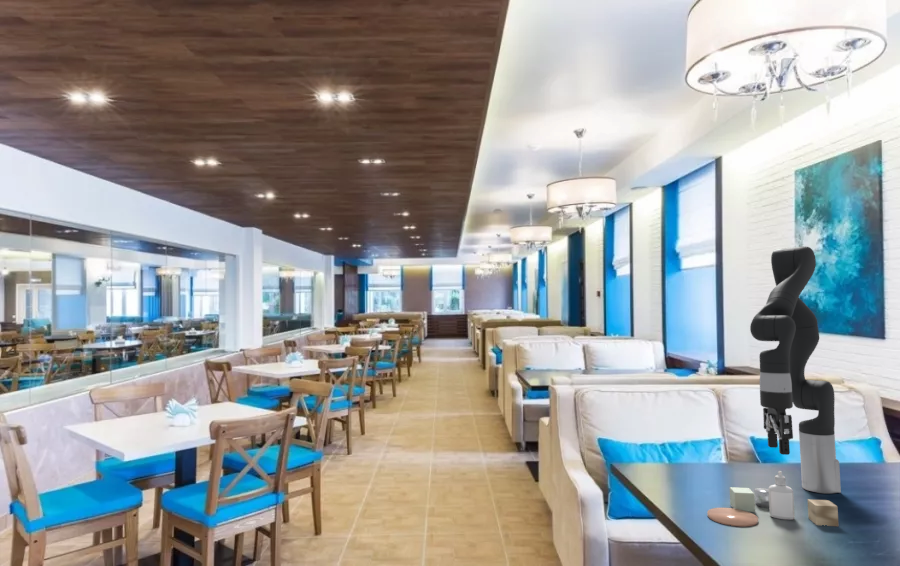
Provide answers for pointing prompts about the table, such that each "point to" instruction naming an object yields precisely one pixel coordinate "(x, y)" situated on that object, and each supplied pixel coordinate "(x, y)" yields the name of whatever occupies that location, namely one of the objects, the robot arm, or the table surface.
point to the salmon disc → (732, 517)
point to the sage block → (742, 499)
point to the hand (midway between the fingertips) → (778, 450)
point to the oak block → (823, 512)
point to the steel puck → (762, 497)
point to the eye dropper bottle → (781, 499)
